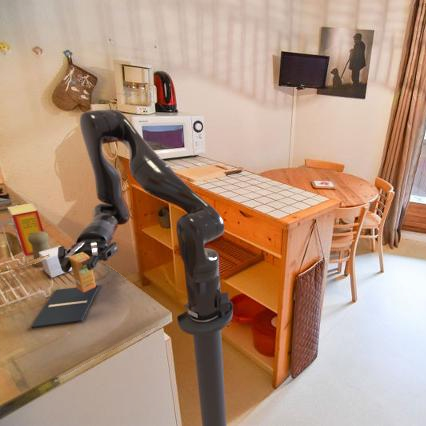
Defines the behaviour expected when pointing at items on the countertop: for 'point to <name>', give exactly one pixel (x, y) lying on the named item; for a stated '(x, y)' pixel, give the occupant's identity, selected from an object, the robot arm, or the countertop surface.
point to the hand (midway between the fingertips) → (76, 268)
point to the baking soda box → (25, 224)
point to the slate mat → (65, 307)
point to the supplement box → (82, 272)
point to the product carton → (52, 262)
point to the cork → (39, 244)
